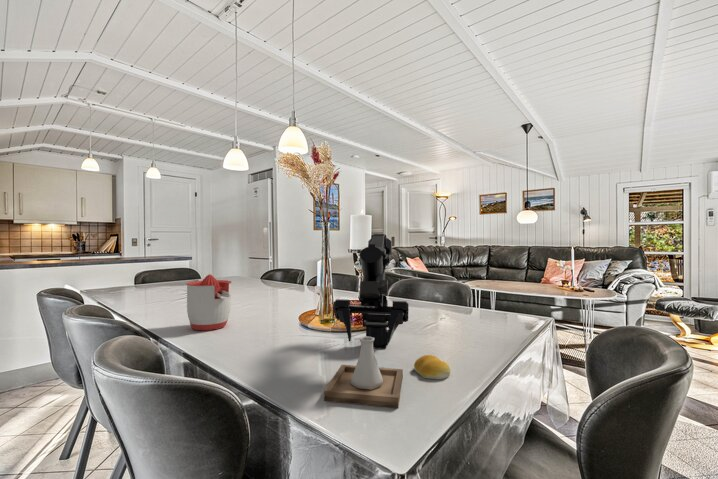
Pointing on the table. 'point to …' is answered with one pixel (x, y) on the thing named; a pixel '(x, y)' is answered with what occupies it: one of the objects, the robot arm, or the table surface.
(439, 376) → the bread roll
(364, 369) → the flask
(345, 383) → the walnut tray
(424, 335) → the table surface
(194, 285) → the citrus juicer
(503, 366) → the table surface
